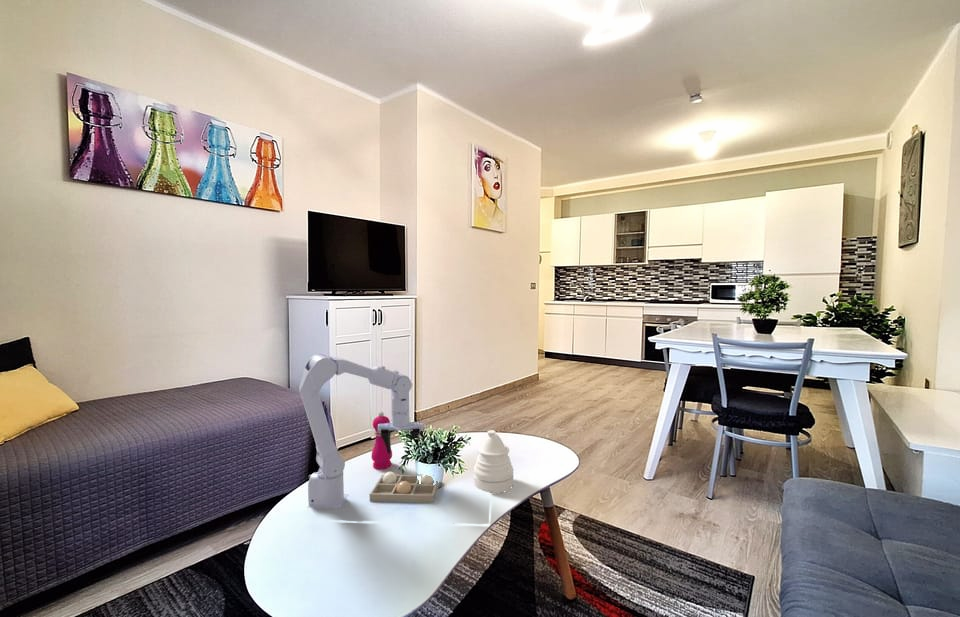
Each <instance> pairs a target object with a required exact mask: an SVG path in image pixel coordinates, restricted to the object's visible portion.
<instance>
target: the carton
mask: <svg viewBox="0 0 960 617" xmlns="http://www.w3.org/2000/svg"><path fill="white" fill-rule="evenodd" d="M383 476H384V474H382V475H381V476H380V477H379V479H378V481H377V482H376V483H375V485H374V486H373V488H372V490H371V491H370V493H369V501H370V502H400V503H401V502H403V503H404V502H405V503H434V501H435V497H436V495H437V492H438V488H439V486H438V481H436V484H435V485H422V484H419V480H418V479H417V476H416V474H415V475H414V474H412V475H410V474H396V477H397V480H396V483H395V484H384V483H383ZM402 481H407V482H409V483H410V485H411V492H410V493H409V494H398V493H397V490H396V489H397V485H398V484H399V483H400V482H402Z"/></svg>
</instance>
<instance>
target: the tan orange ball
mask: <svg viewBox="0 0 960 617" xmlns="http://www.w3.org/2000/svg"><path fill="white" fill-rule="evenodd" d="M396 490H397V493H398V494H409V493H410V492H411V485H410V483H409V482H407V481H402V482H400V483H399V484H398V485H397V489H396Z"/></svg>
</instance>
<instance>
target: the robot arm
mask: <svg viewBox="0 0 960 617" xmlns="http://www.w3.org/2000/svg"><path fill="white" fill-rule="evenodd" d="M344 373H346V374H351V375H354V376H358V377H361V378H366V379H367V380H368V382H369V383H370V384H371V385H372V386H373V385H374V386H377V387H381V388H383V389H387V390H391V391H390V393H391V395H390V401H391V405H390V406H391V409H390V410H391V422H390V423H384V424H378V432H381V437H382V439H383V441H384V443H385V445H386V448H387V453H388V454H390V452H391V450H392V445H391V432H392V431H396V432H397V431H411V433H410V434H411V437H410V438H411V440H412V439H414V438H417V439H418V437H419V436H420V432H421V431H424V422H412V421H410V391H411V389H412V388H413V383H412V382H411V381H412V380H411V379H410V377H409V376H408V375H405V374H403V373H400V371H398V370H390V369H387V368H386V366H384V365H380V366H377V365H376V366H373V367H372V368H370V367H367V366H364V365H362V364H359V363H357V362H353V361H350V360H348V359H344V358H341V357H336V356H332V355H331V356H330V355H328V356H326V355H325V354H322V353H318V354H314V355H312V356H311V357H310V358H309V360H308V361H306V363H305V365H304V368H303V374H302V376H301V380H300V383H299V387H298V391H299V395H300V398H301V401H302V404H303V407H304V410H305V413H306V417H307V420H308V424H309V426H310V430H311V433H312V436H313V438H314V442H315V448H316V457H315V460H316V463H317V465H318V466H319V468H318V470H317V472H316V471H315V472H313V473H312V474H310V476H309V480H308V484H307V486H308V487H307V489H308V490H307V492H308V494H307V496H308V501H307V502H308V505H307V509H309V508H311V509H312V508H313V509H315V508H318V509H340V507H342V505H343V503H344V502H345V501H346V499H347V498H348V497H349V493H348V494H345V492H344V491H345V490H344V483H345V482H344V470H345V466H346V462H345V459H344V457H342V456H341V455H340V454H339V451H338V449H337V447H336V444H335V442H334V438H333V436H332V432H331V428H330V426H329V423H328V420H327V416H326V413H325V409H324V406H323V403H322V399H321V396H320V391H321V389H322V388H323V386H324V385H325V384H326V383H327V382H328V381H330V380H331V379H332V378H333V377H334V376H335V375H336V376H341V375H342V374H344Z"/></svg>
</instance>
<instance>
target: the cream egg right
mask: <svg viewBox="0 0 960 617" xmlns="http://www.w3.org/2000/svg"><path fill="white" fill-rule="evenodd" d="M422 475H423V474H422ZM433 483H434V480H433V478H432V477H431V476H428V475H423V476H422V477H421V484H422V485H433Z"/></svg>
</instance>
